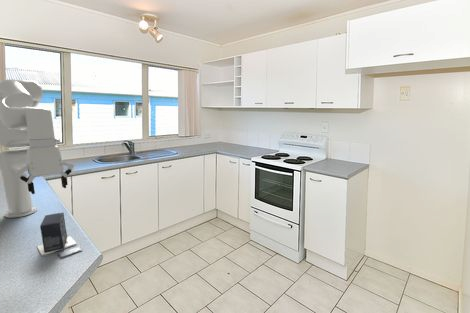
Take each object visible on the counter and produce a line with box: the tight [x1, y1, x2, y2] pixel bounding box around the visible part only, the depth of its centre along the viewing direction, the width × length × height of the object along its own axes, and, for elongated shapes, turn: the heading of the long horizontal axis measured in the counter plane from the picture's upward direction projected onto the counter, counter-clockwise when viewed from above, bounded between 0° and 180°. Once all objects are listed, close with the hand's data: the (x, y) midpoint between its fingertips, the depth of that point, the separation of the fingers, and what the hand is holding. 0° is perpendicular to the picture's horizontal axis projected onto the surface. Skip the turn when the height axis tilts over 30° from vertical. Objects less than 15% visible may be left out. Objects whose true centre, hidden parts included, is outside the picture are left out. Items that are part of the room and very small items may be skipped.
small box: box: [39, 212, 68, 252], centre depth 103 cm, size 11×6×10 cm, turn 26°
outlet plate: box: [37, 236, 77, 256], centre depth 104 cm, size 8×11×1 cm
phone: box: [57, 246, 83, 260], centre depth 99 cm, size 4×7×1 cm, turn 139°
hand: (49, 190), depth 100 cm, fingers open, 9 cm apart
